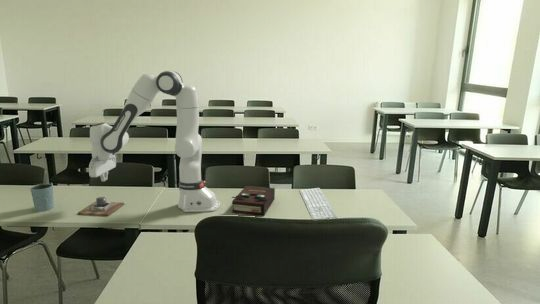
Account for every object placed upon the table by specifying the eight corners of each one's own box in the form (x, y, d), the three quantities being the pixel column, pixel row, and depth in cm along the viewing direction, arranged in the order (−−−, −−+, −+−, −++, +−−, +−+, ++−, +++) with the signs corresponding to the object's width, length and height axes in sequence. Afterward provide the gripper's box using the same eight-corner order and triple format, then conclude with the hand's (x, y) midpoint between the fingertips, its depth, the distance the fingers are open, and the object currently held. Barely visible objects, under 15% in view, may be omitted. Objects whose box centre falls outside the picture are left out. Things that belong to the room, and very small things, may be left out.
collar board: (124, 204, 203) (123, 200, 203) (108, 216, 188) (107, 211, 187) (96, 202, 205) (95, 198, 205) (78, 214, 190) (77, 209, 189)
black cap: (107, 206, 198) (107, 197, 197) (103, 209, 194) (102, 199, 193) (99, 205, 199) (99, 196, 197) (95, 208, 194) (94, 199, 193)
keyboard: (299, 191, 229) (299, 187, 229) (319, 191, 230) (319, 187, 230) (312, 221, 186) (312, 216, 186) (337, 220, 187) (337, 216, 187)
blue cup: (36, 213, 190) (33, 190, 187) (30, 208, 197) (27, 186, 194) (58, 208, 197) (55, 186, 195) (51, 203, 204) (48, 181, 201)
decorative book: (277, 185, 215) (265, 204, 186) (277, 198, 217) (265, 218, 188) (245, 183, 219) (228, 201, 191) (245, 195, 221) (228, 215, 192)
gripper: (96, 159, 182) (99, 187, 186) (117, 150, 202) (119, 175, 205) (83, 159, 183) (87, 186, 186) (106, 150, 203) (108, 174, 206)
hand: (104, 180), depth 196 cm, fingers closed
